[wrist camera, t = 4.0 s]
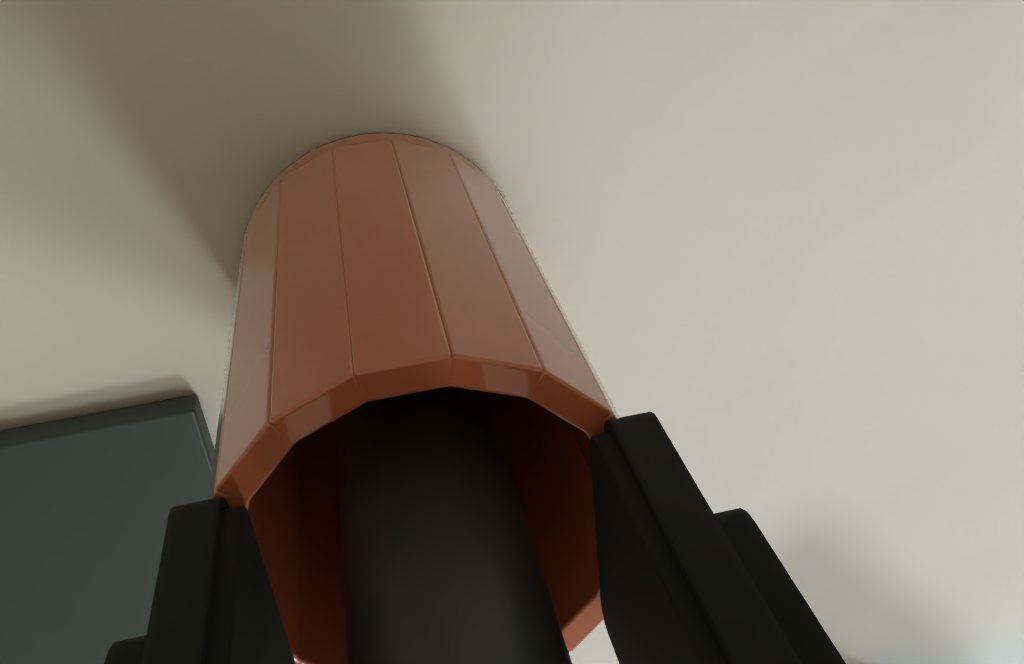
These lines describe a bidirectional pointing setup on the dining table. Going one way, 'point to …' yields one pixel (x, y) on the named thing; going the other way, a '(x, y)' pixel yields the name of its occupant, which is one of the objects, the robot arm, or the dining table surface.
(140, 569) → the slate board
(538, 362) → the pen cup
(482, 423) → the cylinder
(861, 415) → the dining table surface
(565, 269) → the dining table surface
